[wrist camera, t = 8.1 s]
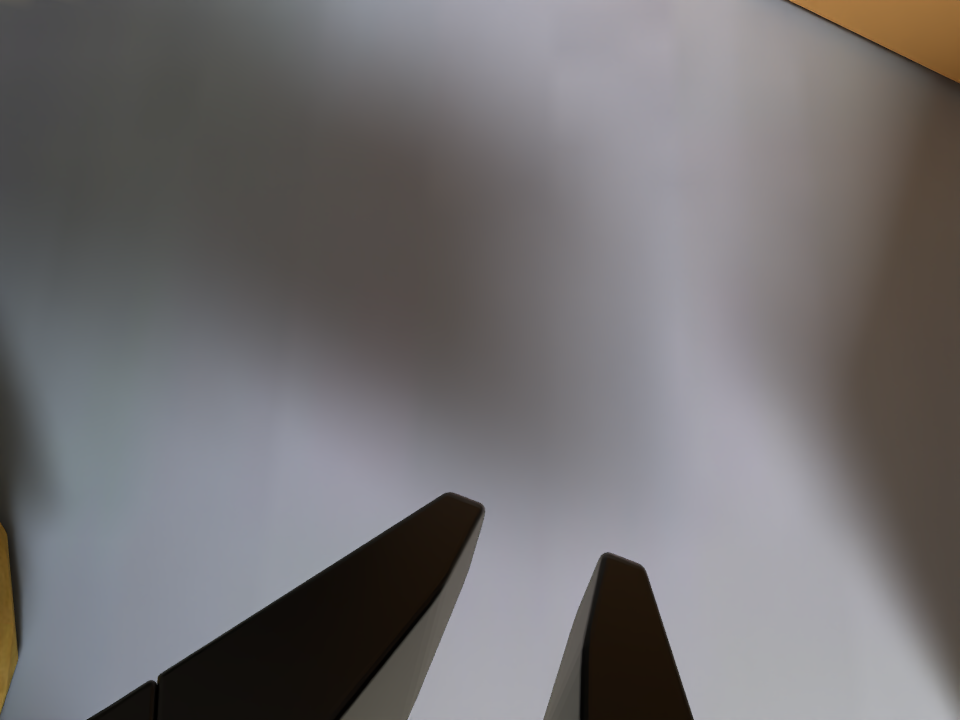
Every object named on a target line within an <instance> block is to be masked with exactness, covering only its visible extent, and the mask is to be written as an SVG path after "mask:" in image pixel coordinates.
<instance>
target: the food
mask: <svg viewBox="0 0 960 720" xmlns="http://www.w3.org/2000/svg"><path fill="white" fill-rule="evenodd" d="M17 661H18V650H17V638H16V627H15V616H14V605H13V594H12V583H11V572H10V561H9V550H8V539H7V533H6V531H5V529H4V528H3V526H2V524H1V523H0V714H1V711H2V707H3V704H4V701H5V698H6V695H7V692H8V689H9V686H10V683H11V680H12V677H13V673H14V670H15V667H16V664H17Z"/></svg>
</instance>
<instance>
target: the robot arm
mask: <svg viewBox="0 0 960 720" xmlns="http://www.w3.org/2000/svg"><path fill="white" fill-rule="evenodd" d="M484 516H485V508H484V506H483V504H481V503H479V502H476V501H474V500H471V499H469V498H466V497H463V496H461V495H458V494H456V493H452V492H448V493H445V494H443V495H441V496H439V497H438V498H436V499H435V500H433V501H432V502H430V503H428V504H427V505H425V506H424V507H422V508H421V509H419V510H417V511H416V512H414V513H413V514H411V515H410V516H408V517H406V518H405V519H403V520H402V521H400V522H399V523H397V524H395V525H394V526H392V527H391V528H389V529H388V530H386V531H384V532H383V533H381V534H380V535H378V536H377V537H375V538H373V539H372V540H370V541H369V542H367V543H366V544H364V545H362V546H361V547H359V548H358V549H356V550H355V551H353V552H351V553H350V554H348V555H347V556H345V557H343V558H342V559H340V560H339V561H337V562H336V563H334V564H332V565H331V566H329V567H328V568H326V569H325V570H323V571H321V572H320V573H318V574H317V575H315V576H314V577H312V578H310V579H309V580H307V581H306V582H304V583H303V584H301V585H299V586H298V587H296V588H295V589H293V590H292V591H290V592H288V593H287V594H285V595H284V596H282V597H281V598H279V599H277V600H276V601H274V602H273V603H271V604H270V605H268V606H266V607H265V608H263V609H262V610H260V611H259V612H257V613H255V614H254V615H252V616H251V617H249V618H248V619H246V620H244V621H243V622H241V623H240V624H238V625H236V626H235V627H233V628H232V629H230V630H229V631H227V632H225V633H224V634H222V635H221V636H219V637H218V638H216V639H214V640H213V641H211V642H210V643H208V644H207V645H205V646H203V647H202V648H200V649H199V650H197V651H196V652H194V653H192V654H191V655H189V656H188V657H186V658H185V659H183V660H181V661H180V662H178V663H177V664H175V665H174V666H172V667H170V668H169V669H167V670H166V671H164V672H163V673H161V674H160V675H159V676H158V680H157V683H156V682H155V681H153V680H150V681H147V682H146V683H144V684H143V685H141V686H140V687H138V688H137V689H135V690H133V691H132V692H130V693H129V694H127V695H126V696H124V697H123V698H121V699H119V700H118V701H116V702H115V703H113V704H112V705H110V706H109V707H107V708H105V709H104V710H102V711H100V712H99V713H97V714H95V715H94V716H92V717H90V718H89V719H87V720H407V719H408V717H409V714H410V712H411V710H412V708H413V706H414V703H415V701H416V699H417V697H418V694H419V692H420V689H421V687H422V684H423V682H424V679H425V677H426V675H427V672H428V670H429V667H430V665H431V662H432V660H433V657H434V655H435V653H436V650H437V648H438V645H439V643H440V640H441V638H442V635H443V633H444V631H445V628H446V626H447V623H448V621H449V618H450V616H451V613H452V611H453V609H454V606H455V604H456V601H457V599H458V596H459V594H460V591H461V589H462V587H463V584H464V581H465V579H466V576H467V573H468V571H469V568H470V564H471V561H472V558H473V554H474V551H475V547H476V544H477V541H478V537H479V534H480V530H481V527H482V523H483V520H484ZM543 720H694V719H693V716H692V713H691V709H690V706H689V703H688V700H687V697H686V694H685V691H684V688H683V685H682V682H681V678H680V675H679V672H678V669H677V666H676V663H675V660H674V657H673V654H672V650H671V647H670V644H669V641H668V638H667V635H666V632H665V629H664V626H663V622H662V619H661V616H660V613H659V610H658V607H657V604H656V601H655V598H654V594H653V591H652V588H651V585H650V582H649V579H648V576H647V573H646V570H645V569H644V567H643V566H642V565H640V564H638V563H636V562H633V561H631V560H628V559H625V558H623V557H620V556H618V555H615V554H612V553H609V552H607V553H604V554H603V555H601V557H600V558H599V560H598V563H597V565H596V567H595V570H594V572H593V575H592V577H591V579H590V582H589V584H588V587H587V589H586V591H585V594H584V596H583V599H582V601H581V604H580V606H579V608H578V611H577V614H576V617H575V619H574V622H573V625H572V629H571V632H570V635H569V638H568V641H567V645H566V648H565V651H564V654H563V658H562V661H561V664H560V667H559V671H558V674H557V677H556V680H555V684H554V687H553V690H552V693H551V697H550V700H549V703H548V706H547V710H546V713H545V716H544V719H543Z"/></svg>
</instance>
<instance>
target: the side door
mask: <svg viewBox="0 0 960 720" xmlns="http://www.w3.org/2000/svg"><path fill="white" fill-rule="evenodd" d="M789 1H791V2H793V3H796V4H798V5H800V6H802V7H804V8H806V9H808V10H810V11H812V12H814V13H816V14H818V15H820V16H822V17H824V18H826V19H828V20H830V21H832V22H835V23H837V24H839V25H841V26H843V27H845V28H847V29H849V30H851V31H853V32H855V33H857V34H859V35H861V36H863V37H865V38H867V39H869V40H872V41H874V42H876V43H878V44H880V45H882V46H884V47H886V48H888V49H890V50H892V51H894V52H896V53H898V54H900V55H902V56H904V57H906V58H909V59H911V60H913V61H915V62H917V63H919V64H921V65H923V66H925V67H927V68H929V69H931V70H933V71H935V72H937V73H939V74H941V75H943V76H945V77H948V78H950V79H952V80H954V81H956V82H958V83H960V0H789Z"/></svg>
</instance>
